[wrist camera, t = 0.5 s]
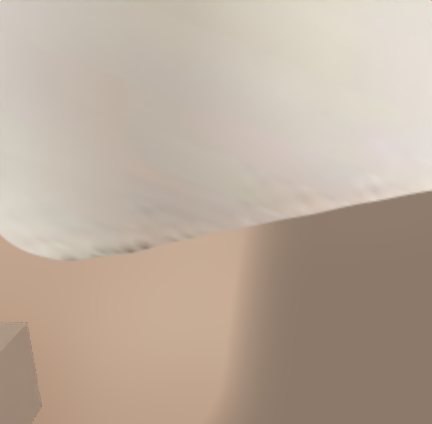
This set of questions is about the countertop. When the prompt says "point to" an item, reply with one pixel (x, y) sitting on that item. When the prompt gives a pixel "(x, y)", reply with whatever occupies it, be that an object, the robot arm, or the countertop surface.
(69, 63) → the countertop surface
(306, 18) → the countertop surface
